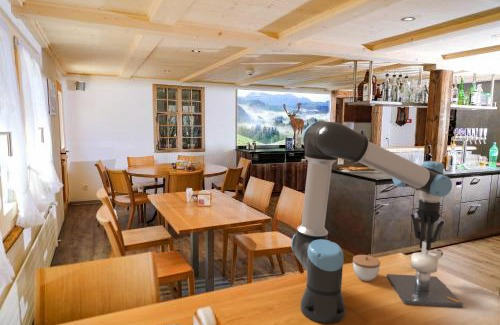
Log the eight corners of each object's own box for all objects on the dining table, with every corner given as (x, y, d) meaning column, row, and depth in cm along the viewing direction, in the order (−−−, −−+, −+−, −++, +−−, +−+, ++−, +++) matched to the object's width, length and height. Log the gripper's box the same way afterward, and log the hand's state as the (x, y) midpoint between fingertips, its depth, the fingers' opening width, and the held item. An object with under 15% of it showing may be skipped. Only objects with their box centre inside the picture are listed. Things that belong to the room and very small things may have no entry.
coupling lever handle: (431, 275, 122) (432, 264, 122) (406, 266, 129) (407, 256, 129) (451, 260, 135) (452, 251, 135) (428, 253, 142) (429, 244, 141)
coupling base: (404, 304, 121) (406, 279, 120) (386, 277, 141) (388, 255, 139) (462, 307, 119) (465, 282, 118) (436, 280, 139) (438, 258, 138)
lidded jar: (347, 271, 145) (349, 251, 144) (371, 271, 146) (372, 250, 145) (358, 284, 135) (359, 262, 133) (383, 283, 136) (385, 261, 134)
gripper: (408, 198, 136) (404, 253, 139) (443, 205, 126) (437, 264, 130) (417, 195, 141) (412, 249, 144) (451, 202, 131) (445, 259, 135)
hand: (424, 256), depth 137 cm, fingers closed
